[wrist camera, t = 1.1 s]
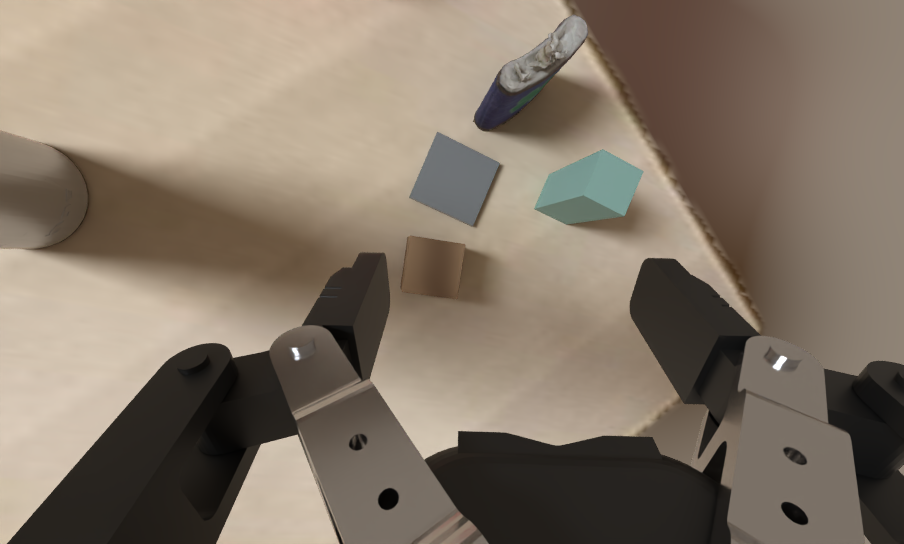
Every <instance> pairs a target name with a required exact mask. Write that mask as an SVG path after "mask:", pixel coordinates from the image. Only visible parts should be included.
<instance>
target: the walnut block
mask: <svg viewBox="0 0 904 544" xmlns="http://www.w3.org/2000/svg"><path fill="white" fill-rule="evenodd" d="M464 251H465V244H460V243H453V242H447V241H440V240H434V239H428V238H421V237H415V236H409V237H408V238H407V245H406V252H405V259H404V266H403V273H402V280H401V290H402V292H406V293H414V294H422V295H429V296H437V297H445V298H453V299H457V297H458V291H459V284H460V277H461V271H462V264H463V257H464Z"/></svg>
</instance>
